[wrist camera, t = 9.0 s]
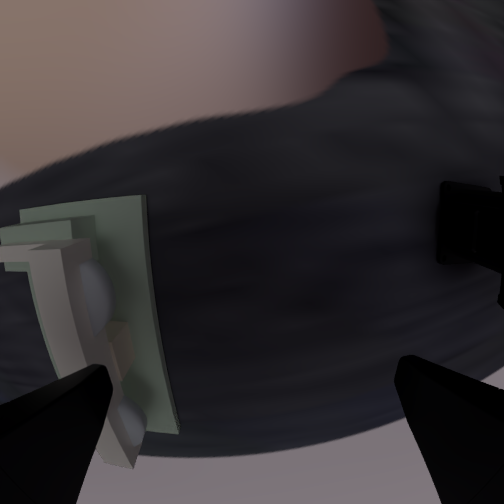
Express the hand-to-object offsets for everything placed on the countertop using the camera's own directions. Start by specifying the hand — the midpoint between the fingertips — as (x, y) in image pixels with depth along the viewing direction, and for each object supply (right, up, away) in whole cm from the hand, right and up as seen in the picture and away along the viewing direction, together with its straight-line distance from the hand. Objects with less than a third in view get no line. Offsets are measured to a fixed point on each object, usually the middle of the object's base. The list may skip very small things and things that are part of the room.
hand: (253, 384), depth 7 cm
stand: (-12, -2, +12) cm, 17 cm away
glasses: (-12, -3, +8) cm, 15 cm away
